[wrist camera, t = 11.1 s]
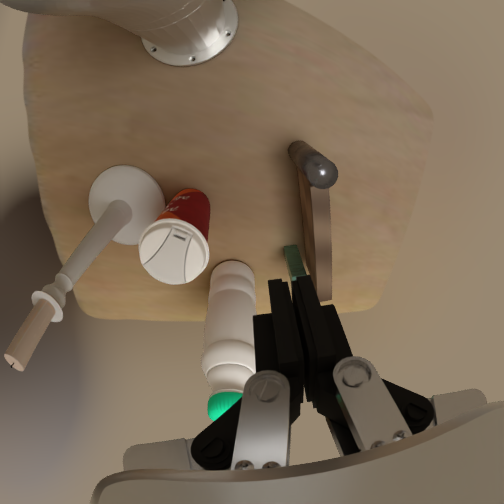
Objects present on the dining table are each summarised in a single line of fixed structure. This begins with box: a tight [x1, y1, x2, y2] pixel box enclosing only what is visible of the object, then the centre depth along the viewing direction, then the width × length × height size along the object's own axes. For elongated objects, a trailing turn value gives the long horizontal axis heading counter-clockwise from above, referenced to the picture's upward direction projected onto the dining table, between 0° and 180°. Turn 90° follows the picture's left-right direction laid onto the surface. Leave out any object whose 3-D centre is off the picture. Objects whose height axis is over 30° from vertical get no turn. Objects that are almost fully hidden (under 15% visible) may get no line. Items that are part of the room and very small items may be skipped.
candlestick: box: [4, 165, 166, 371], centre depth 26 cm, size 13×13×30 cm
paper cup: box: [139, 189, 210, 285], centre depth 34 cm, size 8×8×14 cm
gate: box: [297, 166, 332, 302], centre depth 36 cm, size 16×2×9 cm, turn 10°
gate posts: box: [284, 141, 338, 281], centre depth 35 cm, size 18×3×12 cm, turn 0°
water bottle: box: [201, 261, 257, 421], centre depth 35 cm, size 7×7×25 cm
